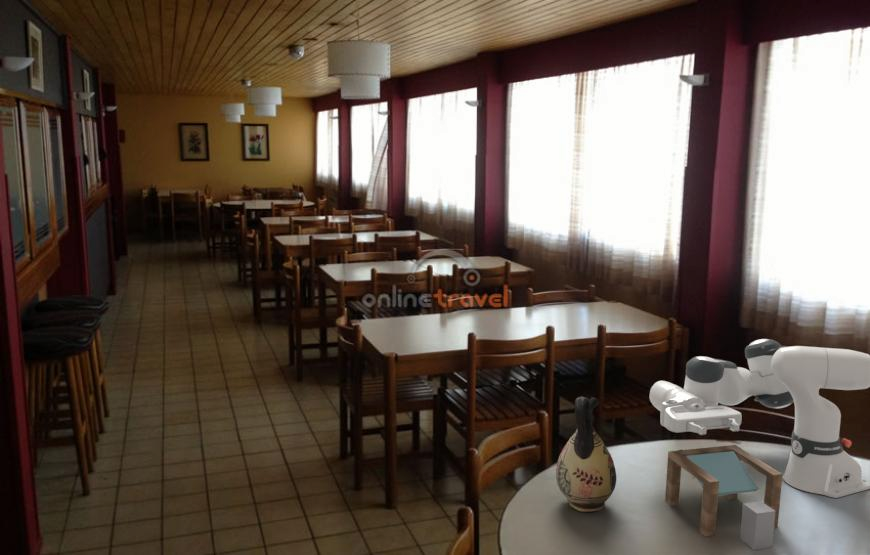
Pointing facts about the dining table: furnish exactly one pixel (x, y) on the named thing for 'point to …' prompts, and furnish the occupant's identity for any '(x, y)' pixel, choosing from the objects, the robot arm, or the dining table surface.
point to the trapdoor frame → (717, 483)
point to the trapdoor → (725, 472)
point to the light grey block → (757, 525)
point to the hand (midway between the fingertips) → (720, 430)
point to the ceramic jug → (586, 463)
